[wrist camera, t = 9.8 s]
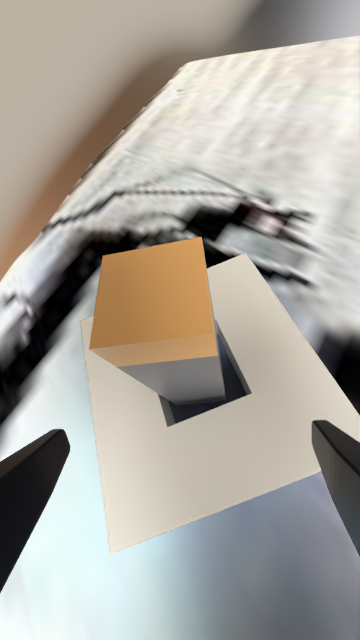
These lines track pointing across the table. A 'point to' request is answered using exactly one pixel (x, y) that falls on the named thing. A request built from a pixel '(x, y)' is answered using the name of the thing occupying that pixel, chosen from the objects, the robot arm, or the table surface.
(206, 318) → the plug
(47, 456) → the robot arm
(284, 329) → the socket block
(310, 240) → the table surface
